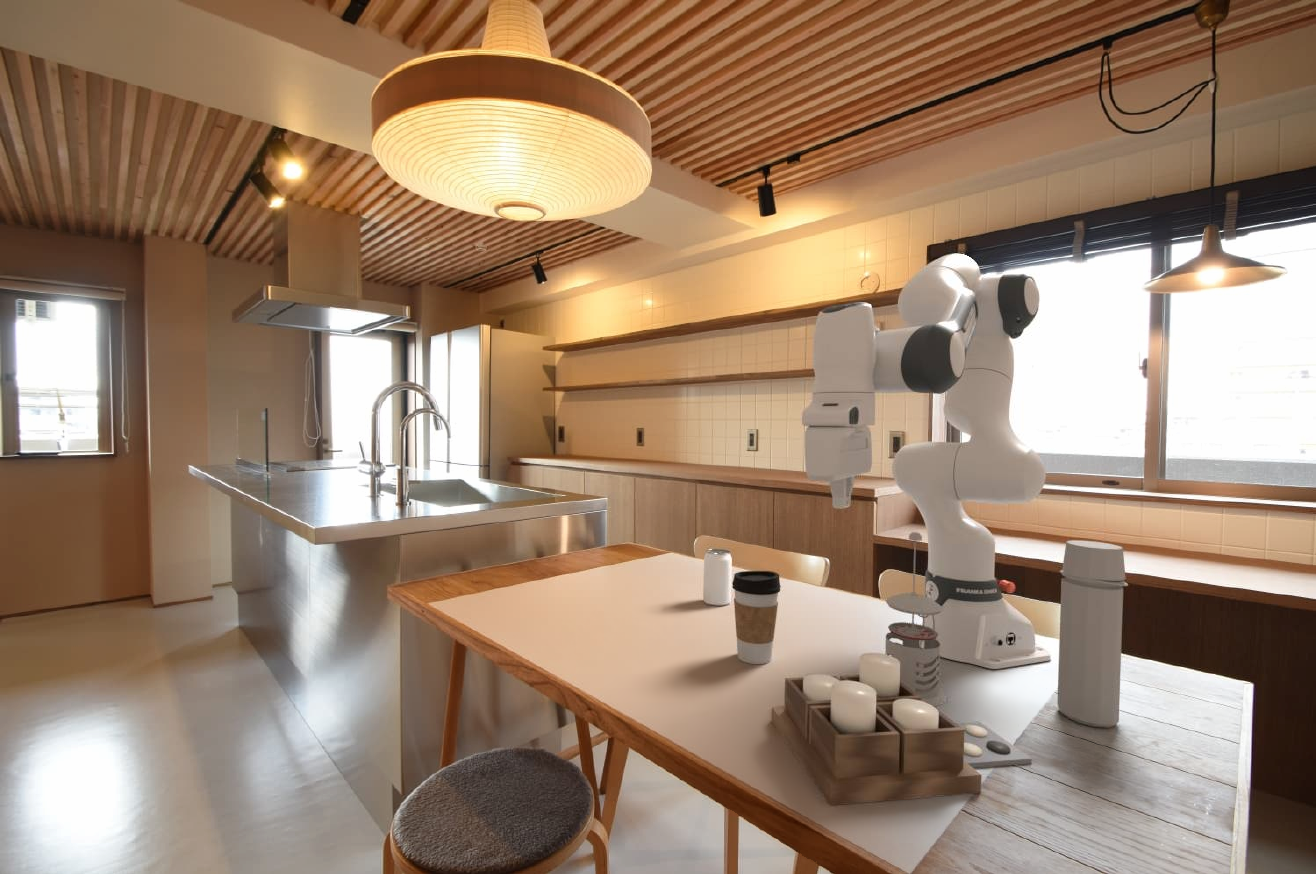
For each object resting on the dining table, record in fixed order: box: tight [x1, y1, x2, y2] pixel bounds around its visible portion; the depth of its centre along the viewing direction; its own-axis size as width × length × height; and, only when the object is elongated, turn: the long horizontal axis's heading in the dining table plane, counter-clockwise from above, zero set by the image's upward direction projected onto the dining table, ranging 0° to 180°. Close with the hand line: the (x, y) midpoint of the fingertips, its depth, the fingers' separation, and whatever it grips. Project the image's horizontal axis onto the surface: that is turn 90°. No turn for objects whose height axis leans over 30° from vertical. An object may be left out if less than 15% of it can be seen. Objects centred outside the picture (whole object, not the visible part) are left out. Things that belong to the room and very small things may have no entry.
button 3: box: [858, 652, 900, 698], centre depth 77 cm, size 5×5×5 cm
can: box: [702, 548, 733, 607], centre depth 135 cm, size 6×6×12 cm
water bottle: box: [1056, 539, 1129, 728], centre depth 83 cm, size 9×8×25 cm
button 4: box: [892, 699, 939, 731], centre depth 69 cm, size 5×5×5 cm
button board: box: [770, 674, 982, 806], centre depth 72 cm, size 18×18×6 cm
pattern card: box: [955, 721, 1033, 769], centre depth 75 cm, size 9×9×1 cm
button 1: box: [803, 673, 839, 701], centre depth 75 cm, size 5×5×5 cm
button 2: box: [830, 680, 876, 735], centre depth 68 cm, size 5×5×5 cm
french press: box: [884, 531, 947, 707], centre depth 91 cm, size 10×12×25 cm
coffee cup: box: [731, 570, 782, 665], centre depth 102 cm, size 8×8×15 cm
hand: (841, 507), depth 85 cm, fingers closed
